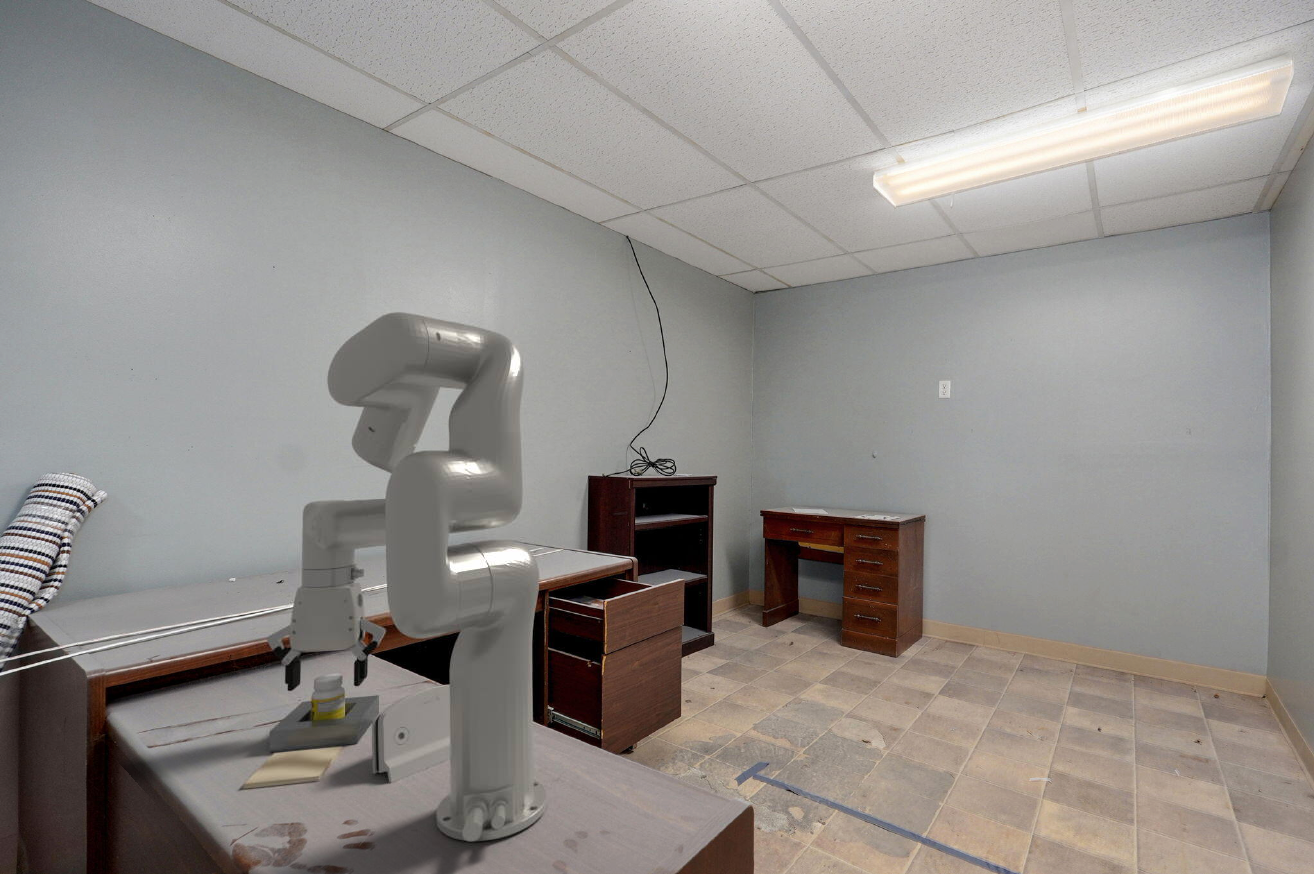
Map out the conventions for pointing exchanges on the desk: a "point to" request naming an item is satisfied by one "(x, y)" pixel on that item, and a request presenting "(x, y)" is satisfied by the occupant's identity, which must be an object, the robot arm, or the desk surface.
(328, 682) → the supplement bottle
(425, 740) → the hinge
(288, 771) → the pad
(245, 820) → the desk surface
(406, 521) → the robot arm
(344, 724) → the socket block
